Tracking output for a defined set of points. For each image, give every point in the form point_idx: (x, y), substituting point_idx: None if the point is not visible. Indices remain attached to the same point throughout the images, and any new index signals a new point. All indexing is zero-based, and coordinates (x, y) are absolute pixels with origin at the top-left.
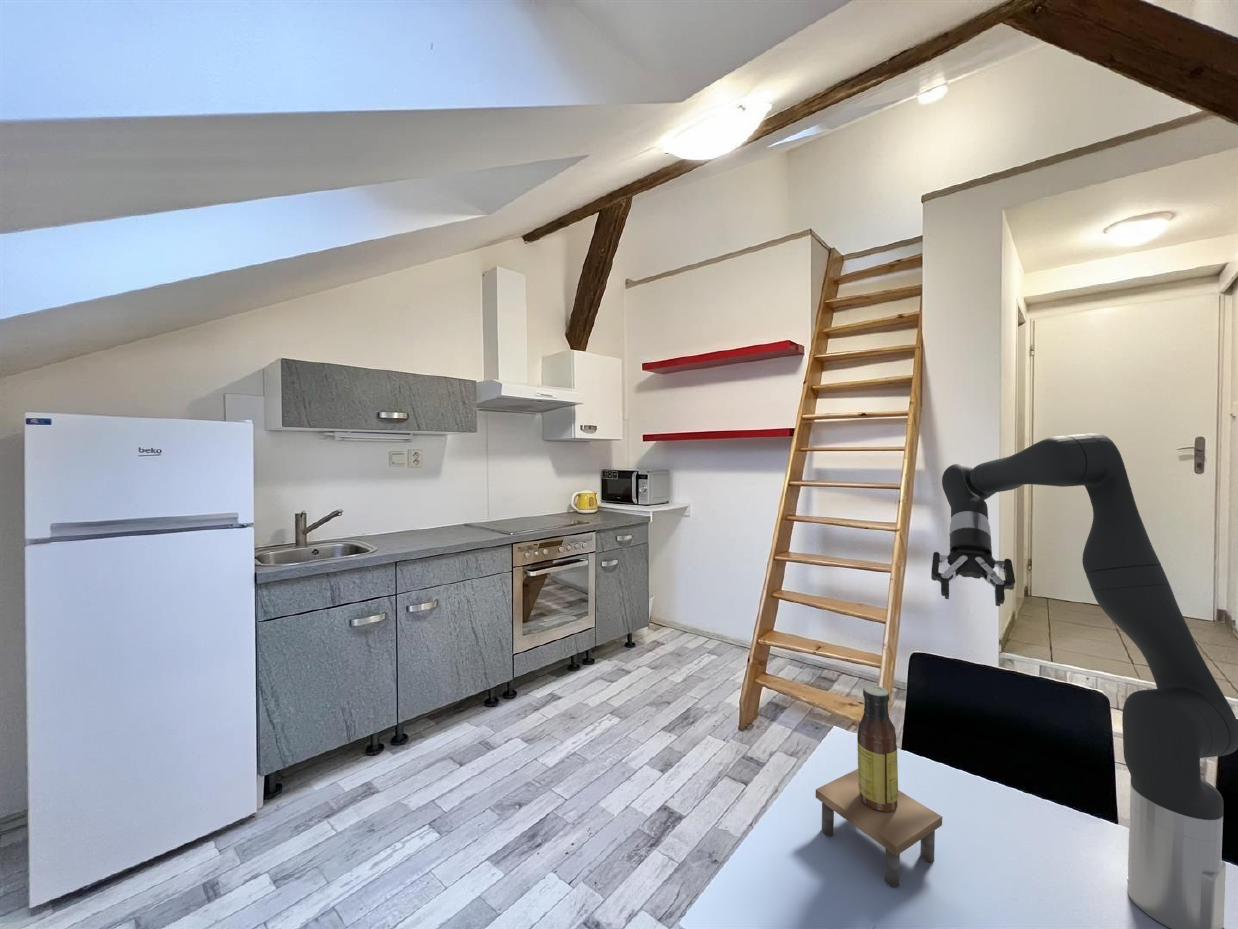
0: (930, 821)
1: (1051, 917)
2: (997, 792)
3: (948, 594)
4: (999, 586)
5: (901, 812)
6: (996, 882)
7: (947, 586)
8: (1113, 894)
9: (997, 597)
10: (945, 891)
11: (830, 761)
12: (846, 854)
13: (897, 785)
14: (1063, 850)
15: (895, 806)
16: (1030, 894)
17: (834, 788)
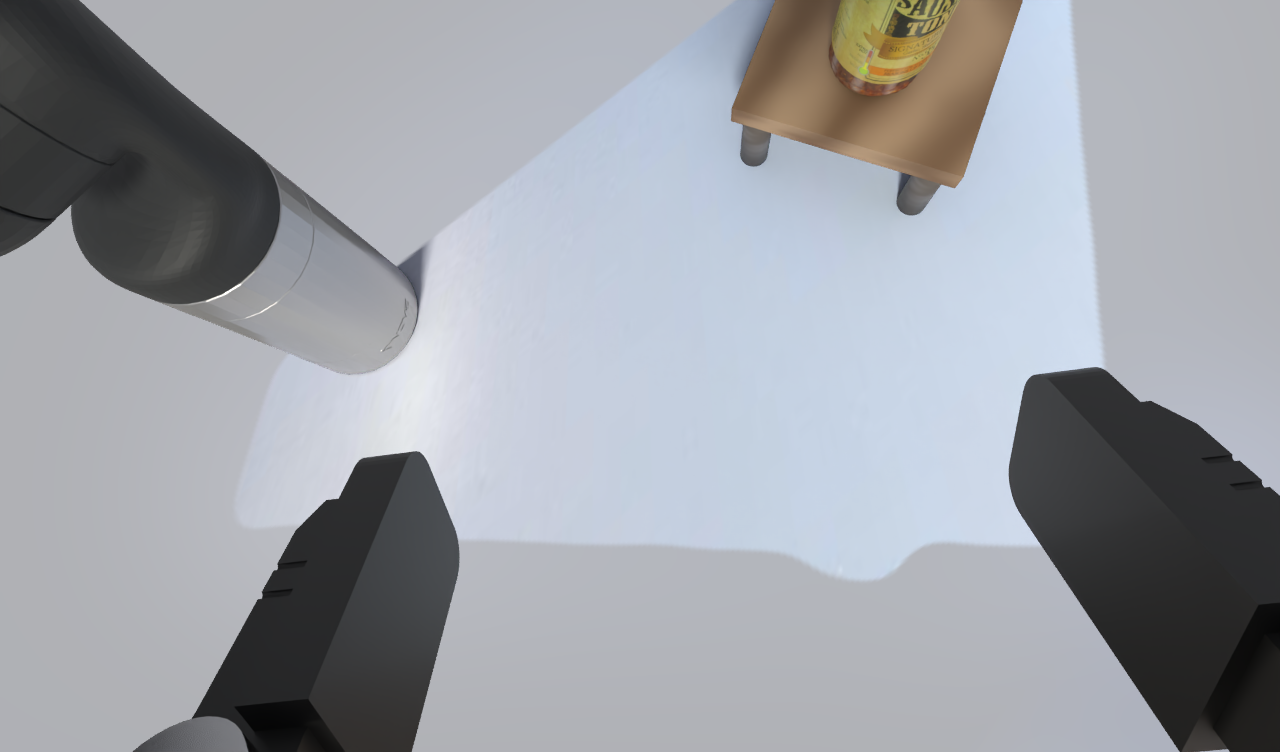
0: (752, 72)
1: (546, 152)
2: (638, 535)
3: (1041, 379)
4: (252, 685)
5: (816, 57)
6: (630, 177)
7: (1152, 457)
8: (442, 293)
9: (385, 481)
10: (710, 88)
11: (1068, 370)
12: None
13: (839, 10)
14: (510, 377)
15: (831, 42)
16: (576, 187)
17: (984, 36)
